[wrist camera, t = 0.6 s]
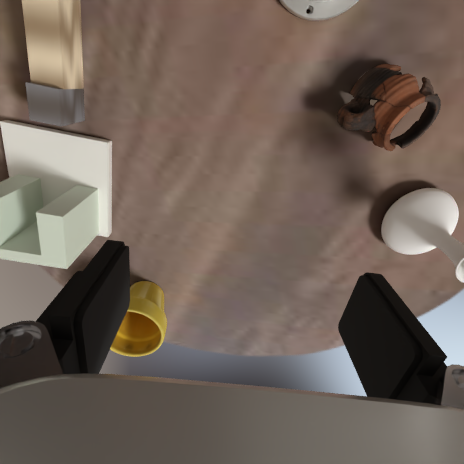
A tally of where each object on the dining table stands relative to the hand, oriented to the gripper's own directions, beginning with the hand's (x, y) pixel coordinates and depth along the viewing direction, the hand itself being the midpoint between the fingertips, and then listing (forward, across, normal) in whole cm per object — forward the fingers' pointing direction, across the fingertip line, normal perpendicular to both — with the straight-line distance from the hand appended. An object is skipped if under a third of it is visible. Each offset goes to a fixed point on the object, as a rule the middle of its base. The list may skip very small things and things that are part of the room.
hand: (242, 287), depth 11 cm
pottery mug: (+33, -18, -7) cm, 38 cm away
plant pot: (+33, +12, +30) cm, 46 cm away
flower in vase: (+33, -30, +7) cm, 45 cm away
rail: (+33, +22, -8) cm, 40 cm away
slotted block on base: (+33, +24, +10) cm, 42 cm away
